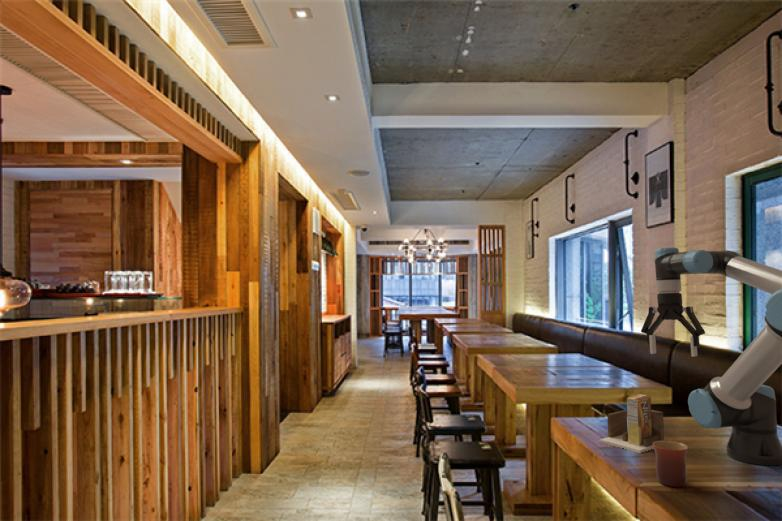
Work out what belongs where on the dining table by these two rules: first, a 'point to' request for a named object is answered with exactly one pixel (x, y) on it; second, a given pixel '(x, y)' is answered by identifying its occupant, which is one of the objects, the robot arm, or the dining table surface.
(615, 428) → the dark wooden panel
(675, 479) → the mug
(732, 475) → the dining table surface
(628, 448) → the shelf board
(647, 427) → the candy box
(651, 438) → the bookend
